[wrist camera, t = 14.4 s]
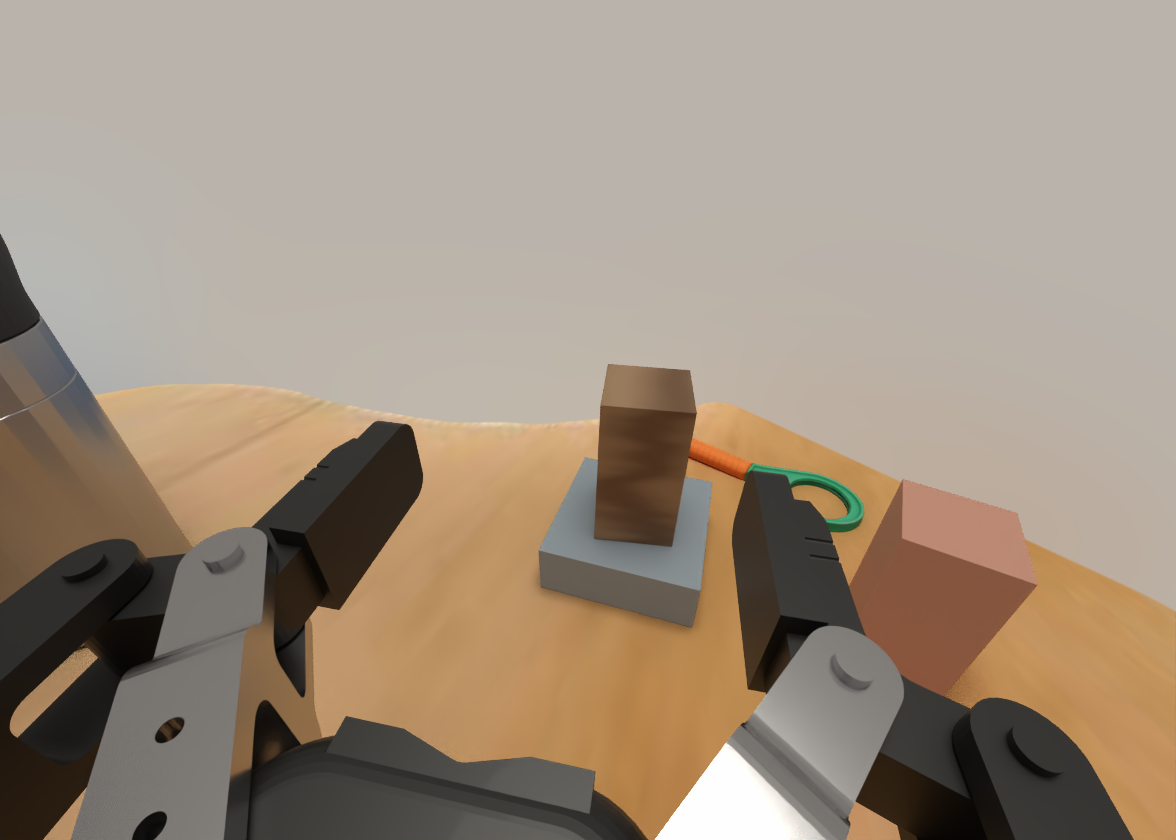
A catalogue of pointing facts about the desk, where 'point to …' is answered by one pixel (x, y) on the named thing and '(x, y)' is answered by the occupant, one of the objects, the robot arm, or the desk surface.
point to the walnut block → (643, 453)
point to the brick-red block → (940, 582)
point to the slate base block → (627, 555)
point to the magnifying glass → (795, 478)
